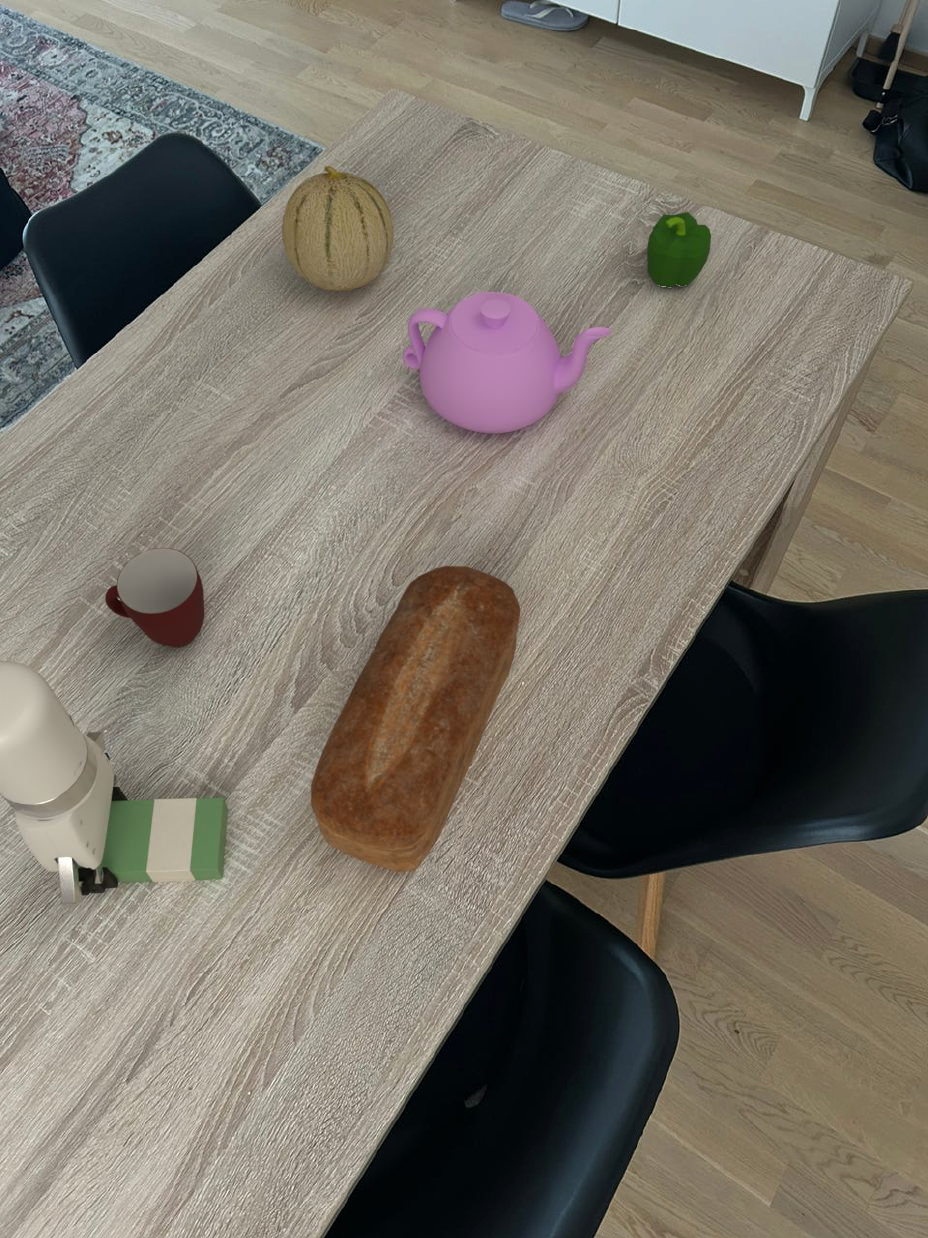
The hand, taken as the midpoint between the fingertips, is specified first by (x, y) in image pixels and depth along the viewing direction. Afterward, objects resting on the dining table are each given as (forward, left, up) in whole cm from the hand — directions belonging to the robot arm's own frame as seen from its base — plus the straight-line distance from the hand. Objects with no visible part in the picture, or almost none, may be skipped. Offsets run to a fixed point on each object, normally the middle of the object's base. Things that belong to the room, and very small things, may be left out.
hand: (106, 844), depth 98 cm
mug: (+3, +24, -1) cm, 24 cm away
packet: (+4, 0, -1) cm, 5 cm away
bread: (+30, +11, -1) cm, 32 cm away
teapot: (+41, +58, -1) cm, 71 cm away
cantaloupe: (+21, +80, -1) cm, 83 cm away
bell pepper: (+66, +79, -1) cm, 103 cm away
